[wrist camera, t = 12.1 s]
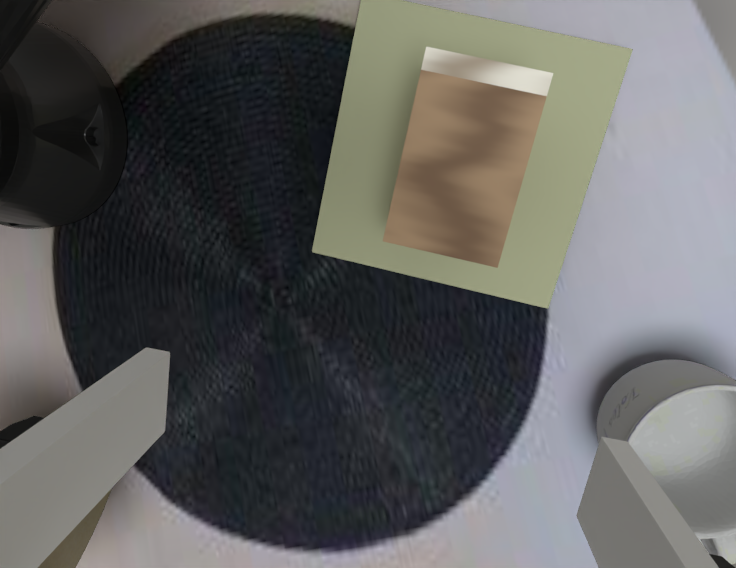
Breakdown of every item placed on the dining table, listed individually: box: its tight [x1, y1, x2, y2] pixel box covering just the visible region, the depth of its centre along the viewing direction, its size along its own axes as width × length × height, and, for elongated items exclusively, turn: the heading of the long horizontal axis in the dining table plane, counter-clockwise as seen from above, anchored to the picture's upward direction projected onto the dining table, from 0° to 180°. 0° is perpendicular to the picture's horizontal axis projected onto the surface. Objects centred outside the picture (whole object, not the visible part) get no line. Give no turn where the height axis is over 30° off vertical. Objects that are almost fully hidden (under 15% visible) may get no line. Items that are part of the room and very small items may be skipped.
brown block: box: [383, 47, 553, 268], centre depth 32 cm, size 7×7×11 cm
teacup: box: [597, 360, 736, 565], centre depth 36 cm, size 14×11×8 cm
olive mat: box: [312, 0, 633, 309], centre depth 36 cm, size 18×18×1 cm
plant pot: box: [38, 488, 112, 568], centre depth 39 cm, size 15×15×16 cm
